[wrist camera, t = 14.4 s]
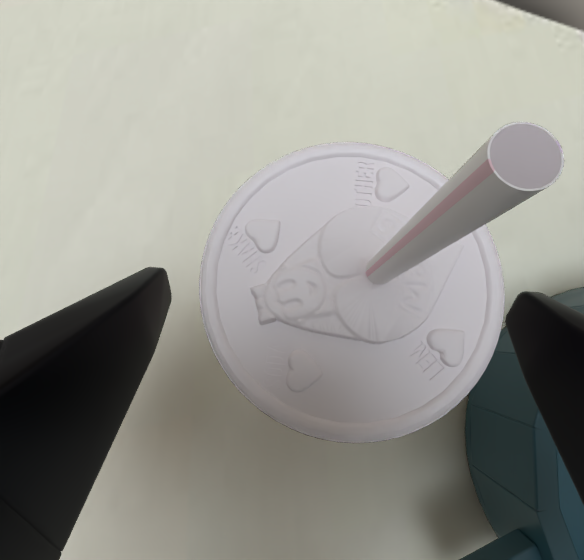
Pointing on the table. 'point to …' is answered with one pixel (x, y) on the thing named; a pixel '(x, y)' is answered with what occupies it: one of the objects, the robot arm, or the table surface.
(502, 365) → the pot
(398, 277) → the smoothie
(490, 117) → the table surface
